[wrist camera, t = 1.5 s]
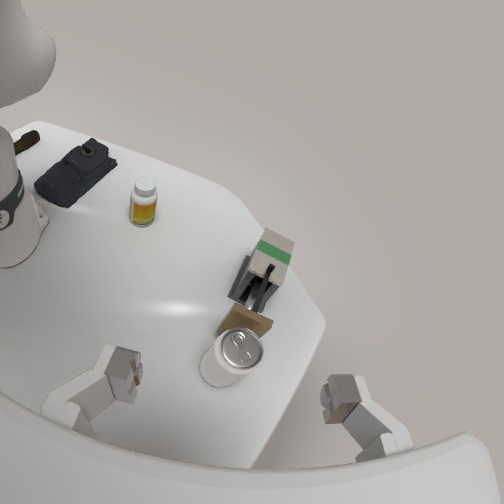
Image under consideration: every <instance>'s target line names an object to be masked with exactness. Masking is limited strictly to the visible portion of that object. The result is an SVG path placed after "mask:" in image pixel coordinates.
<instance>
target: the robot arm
mask: <svg viewBox="0 0 504 504" xmlns="http://www.w3.org/2000/svg"><path fill="white" fill-rule="evenodd" d="M55 60H56V47H55V43H54V40H53V38H52V37H51V35H50V34H49V33H48V32H47V31H46V30H44V29H42V28H40V27H38V26H37V25H35V24H34V23H33V22H32V21H31V20H30V19H29V18H28V17H27V16H26V14H25V12H24V11H23V8H22V6H21V3H20V0H0V108H2V107H5V106H8V105H12V104H14V103H16V102H18V101H20V100H22V99H25V98H27V97H29V96H31V95H33V94H35V93H37V92H39V91H40V90H41V89H42V88H43V87H44V85H45V84H46V82H47V81H48V79H49V77H50V76H51V73H52V71H53V68H54V65H55ZM41 217H42V218H41ZM48 222H49V219H48V217H47V215H46V214H45V212H44V211H43V210H42V208H41V207H40V205H39V204H38V202H37V201H36V199H35V198H34V196H33V195H32V193H31V192H30V190H29V189H28V187H27V186H26V185H24V183H23V178H22V175H21V172H20V170H19V169H18V167H17V162H16V157H15V151H14V144H13V139H12V137H11V135H10V134H9V133H8V131H7V130H6V129H5V128H3V127H1V126H0V267H3V268H5V267H11V266H14V265H17V264H19V263H20V262H22V261H23V260H25V259H26V258H27V257H28V256H29V255H30V254H31V253H32V252H33V250H34V249H35V247H36V246H37V244H38V241H39V239H40V235H41V233H42V231H43V230H44V228H45V227H46V226H47V224H48ZM140 359H141V355H140V352H137V351H133V350H129V349H126V348H122V347H119V346H115V345H111V344H108V343H107V344H106V345H105V346H104V348H103V350H102V352H101V354H100V356H99V357H98V359H97V361H96V363H95V365H94V368H93V370H88V371H86V372H84V373H82V374H81V375H79V376H77V377H76V378H74V379H72V380H70V381H69V382H67V383H65V384H63V385H62V386H60V387H58V388H56V389H55V390H53V391H51V392H50V394H49V396H48V397H47V399H46V401H45V403H44V405H43V407H42V410H41V412H40V414H38V413H36V412H34V411H32V410H30V409H29V408H27V407H25V406H23V405H22V404H20V403H18V402H16V401H15V400H13V399H11V398H10V397H8V396H7V395H5V394H3V393H2V392H0V504H501V500H500V494H499V489H498V485H497V480H496V476H495V472H494V469H493V466H492V462H491V459H490V456H489V454H488V451H487V449H486V447H485V445H484V444H483V443H482V442H481V441H480V440H479V439H477V438H476V437H474V436H473V435H472V434H470V433H468V432H461V433H459V434H456V435H454V436H451V437H449V438H446V439H443V440H441V441H438V442H435V443H432V444H429V445H426V446H423V447H420V448H416V449H414V446H413V444H412V441H411V438H410V435H409V432H408V430H407V428H406V427H405V426H404V425H402V424H401V423H400V422H399V421H397V420H396V419H395V418H394V417H393V416H392V415H391V414H389V413H388V412H387V411H386V410H385V409H383V408H382V407H381V406H380V405H379V404H378V403H376V402H375V401H372V399H371V396H370V394H369V391H368V388H367V385H366V383H365V380H364V377H363V375H362V374H337V375H330V376H329V377H328V379H327V381H328V383H327V384H325V385H324V386H323V387H322V389H321V393H320V401H321V404H322V406H323V407H324V408H325V409H324V411H323V416H324V420H325V424H336V423H342V425H343V426H344V427H345V429H346V430H347V431H348V432H349V433H350V434H351V436H352V437H353V438H354V439H355V440H356V441H357V443H358V444H359V445H360V446H361V447H362V448H363V451H362V452H361V453H359V454H358V455H357V456H356V457H355V458H356V463H350V464H343V465H336V466H327V467H316V468H303V469H240V468H227V467H216V466H207V465H200V464H193V463H187V462H181V461H175V460H170V459H165V458H160V457H156V456H151V455H147V454H143V453H139V452H136V451H132V450H128V449H125V448H122V447H118V446H115V445H112V444H109V443H106V442H103V441H100V440H97V439H95V436H96V432H95V431H94V429H93V428H92V426H91V424H90V423H89V422H90V421H91V420H92V419H93V418H95V417H96V416H97V415H98V414H99V413H101V412H102V411H103V410H104V409H106V408H107V407H108V406H109V405H110V404H112V403H113V402H114V401H115V399H116V400H119V401H123V402H127V403H131V404H134V401H135V398H136V395H137V389H136V386H138V385H139V384H140V382H141V379H142V373H143V367H142V364H141V363H140Z"/></svg>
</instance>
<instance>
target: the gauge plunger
mask: <svg viewBox="0 0 504 504" xmlns="http://www.w3.org/2000/svg"><path fill="white" fill-rule="evenodd" d="M275 267H276V266H275V265H273V264H271V263H270V264H269V265H268V267H267V269H266V271H265V274H264V277H263V280H262V282H261V283H259V282H254V283H253V286H252V288H251V291H250V294H249V296H248V299H247V301H246V304H245V306H244V307H243V306H241V305H239V304H237V303H234V305H233V306H232V308H231V309H230V311H229V312H228V314H227V315H226V316H225V318H224V319H223V321H222V322H221V324H220V325H219V327H218V329H217V332H218V333H221V334H222V333H224V332H225V331H227V330H231V329H233V328H246V329H249V330H251V331H252V332H254V333H255V334H256V335H257V336H258V337H259V338H261V337H262V336H263V335H264V334H265V333H266V332H267V331H268V330H270V329H271V328H272V324H273V320H271V319H268V318H266V317H264V316H262V315H260V314H258V313H257V312H258V309H259V306H260V304H261V301H262V298H263V295H264V292H265V289H266V286H267V283H268V280H269V278H270V275H271V272H273V270H274V269H275Z"/></svg>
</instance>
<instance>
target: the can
mask: <svg viewBox="0 0 504 504" xmlns="http://www.w3.org/2000/svg"><path fill="white" fill-rule="evenodd" d="M262 356H263V345H262V342H261V340H260V339H259V337H258V336H257V335H256V334H255V333H254V332H252V331H251V330H249V329H246V328H233V329H231V330H227V331H225V332H224V333H222V334H221V335H220V336H219V337H218V338H217V339H216V341H215V342H214V343H213V345H212V346H211V347H210V348H209V350H208V351H207V352H206V354H205V355H204V356H203V358H202V360H201V362H200V372H201V375H202V377H203V378H204V380H205V381H206V382H207V383H209V384H210V385H212V386H215V387H226V386H229V385H231V384H233V383H234V382H236V381H238V380H240V379H241V378H243V377H245V376H246V375H248V374H249V373H251V372H252V371H254V370H255V369H256V368H257V367H258V365H259V363H260V361H261V359H262Z"/></svg>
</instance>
